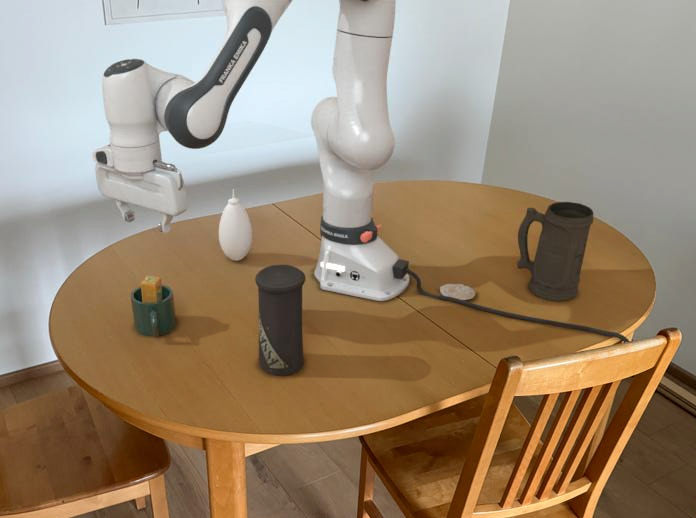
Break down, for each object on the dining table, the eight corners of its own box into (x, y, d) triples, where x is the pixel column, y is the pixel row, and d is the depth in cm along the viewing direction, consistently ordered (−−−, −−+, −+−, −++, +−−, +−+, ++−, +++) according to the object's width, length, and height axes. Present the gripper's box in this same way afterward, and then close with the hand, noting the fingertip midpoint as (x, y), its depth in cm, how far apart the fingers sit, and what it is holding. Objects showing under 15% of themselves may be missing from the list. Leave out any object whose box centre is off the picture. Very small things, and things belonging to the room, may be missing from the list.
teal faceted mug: (135, 317, 152) (130, 285, 148) (174, 313, 153) (171, 282, 149) (135, 346, 142) (130, 314, 138) (178, 342, 144) (174, 310, 140)
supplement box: (160, 327, 147) (155, 284, 141) (144, 325, 148) (138, 282, 142) (166, 318, 150) (161, 276, 144) (150, 317, 150) (145, 274, 145)
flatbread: (476, 288, 163) (477, 285, 162) (473, 304, 157) (473, 300, 157) (441, 283, 165) (441, 279, 164) (436, 298, 159) (436, 294, 159)
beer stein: (583, 285, 165) (597, 202, 154) (577, 305, 157) (591, 220, 146) (515, 275, 171) (525, 195, 160) (506, 295, 163) (515, 212, 152)
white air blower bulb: (239, 269, 170) (236, 197, 160) (214, 260, 174) (209, 190, 164) (259, 257, 176) (257, 187, 166) (234, 249, 179) (230, 180, 169)
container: (257, 352, 141) (254, 261, 130) (302, 350, 142) (303, 260, 130) (258, 378, 134) (255, 284, 123) (306, 376, 134) (307, 282, 123)
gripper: (191, 161, 128) (198, 232, 136) (110, 141, 137) (121, 209, 145) (168, 171, 123) (176, 244, 131) (85, 151, 133) (98, 220, 141)
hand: (146, 226), depth 138 cm, fingers open, 8 cm apart
